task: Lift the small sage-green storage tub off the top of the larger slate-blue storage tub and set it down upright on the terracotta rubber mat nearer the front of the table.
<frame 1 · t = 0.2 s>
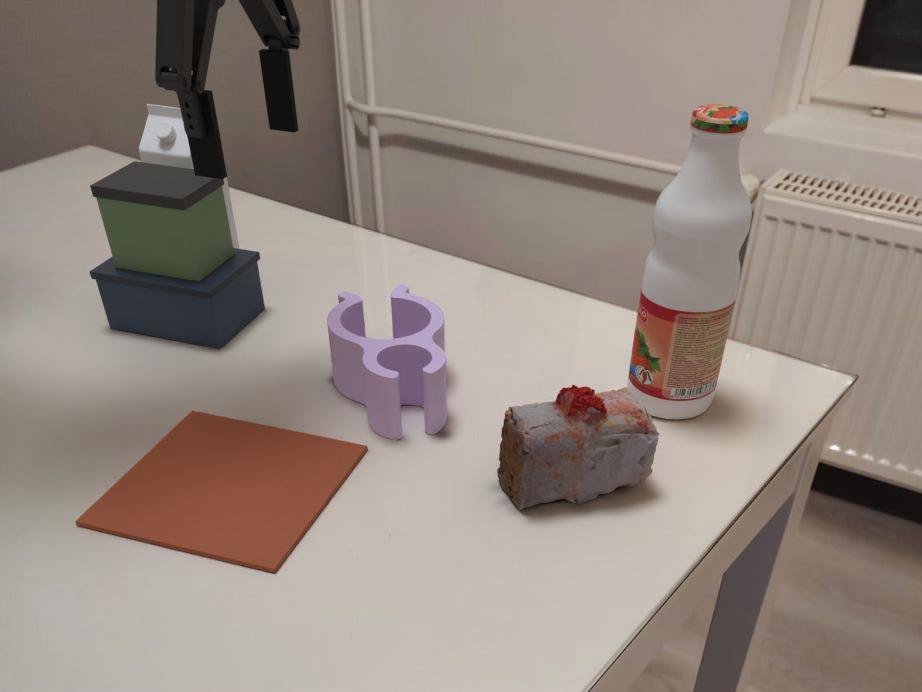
hand: (249, 152, 82), 24 cm above the table, tool pointing down, fingers open, 13 cm apart
milk carton: (205, 267, 121), on the table
fruit juice: (668, 400, 98), on the table
clip: (394, 390, 99), on the table
food item: (572, 486, 87), on the table
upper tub: (176, 261, 105), point 7 cm above the table, touching lower tub
mat: (230, 485, 86), on the table
lower tub: (189, 318, 110), on the table, touching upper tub
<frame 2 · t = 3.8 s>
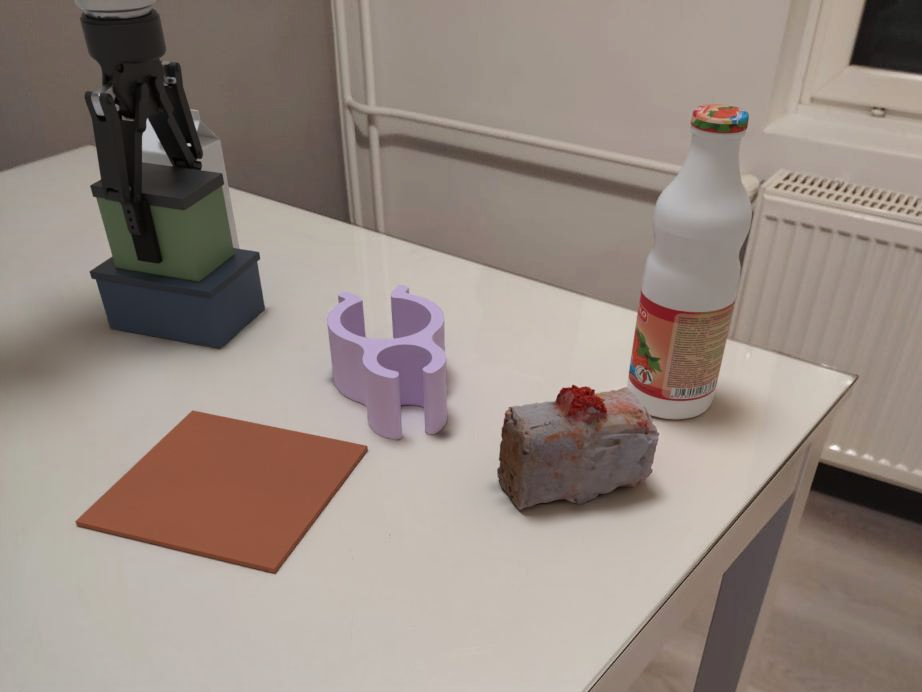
hand: (172, 245, 103), 9 cm above the table, tool pointing down, fingers closed on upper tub, 8 cm apart
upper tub: (175, 261, 105), point 7 cm above the table, touching gripper, lower tub
everything else where it was.
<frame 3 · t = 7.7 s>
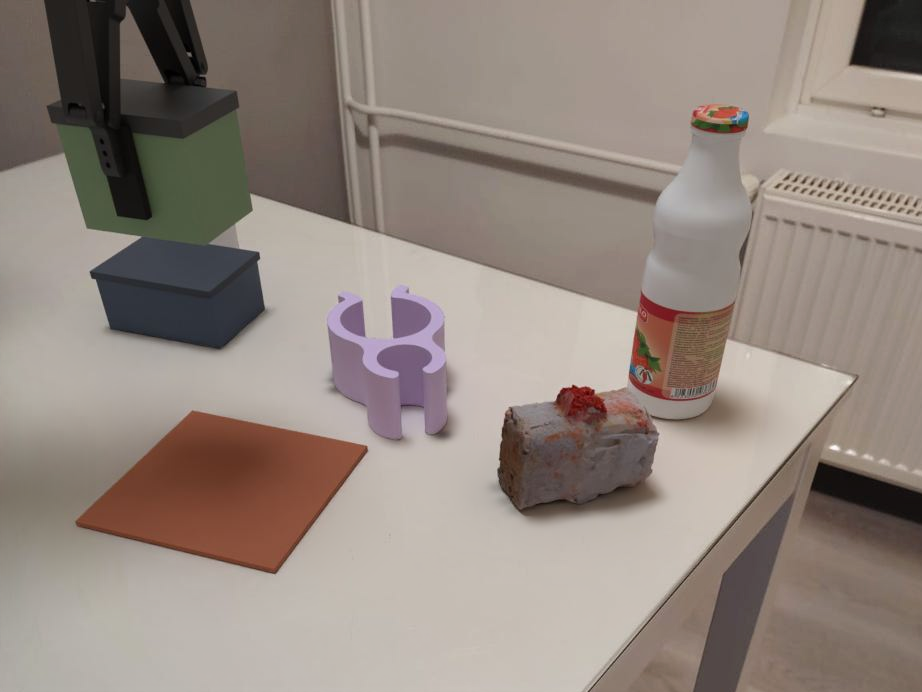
hand: (165, 196, 74), 24 cm above the table, tool pointing down, fingers closed on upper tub, 8 cm apart
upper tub: (171, 219, 75), point 22 cm above the table, touching gripper
lower tub: (189, 318, 110), on the table
everything else where it was.
when the fingers open (2 cm above the table, at t = 12.0 s): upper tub stays where it is, resting on mat.
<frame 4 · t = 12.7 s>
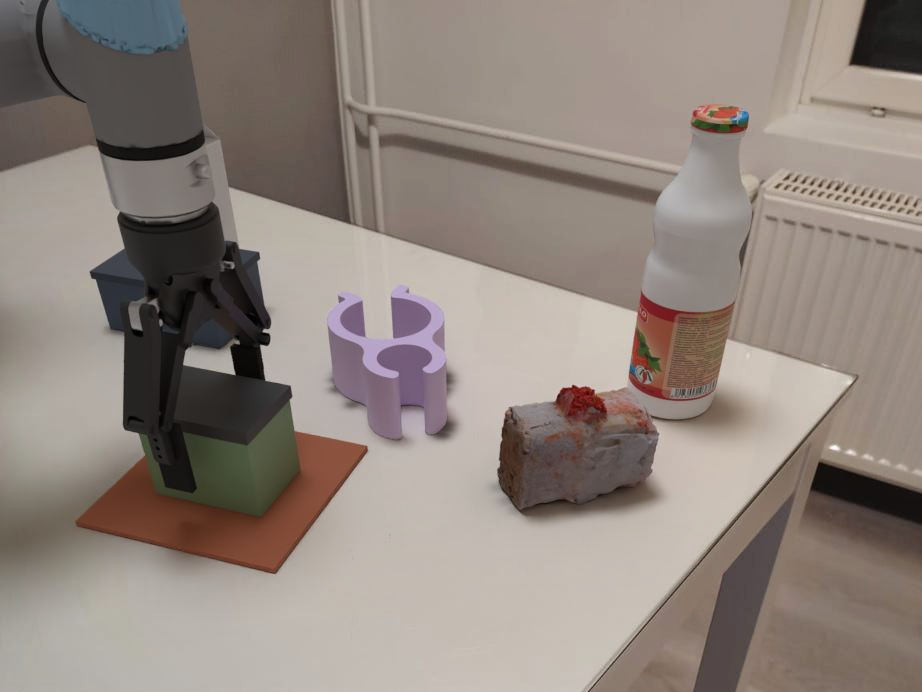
hand: (221, 447, 83), 4 cm above the table, tool pointing down, fingers open, 13 cm apart
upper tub: (229, 481, 85), resting on mat
everything else where it was.
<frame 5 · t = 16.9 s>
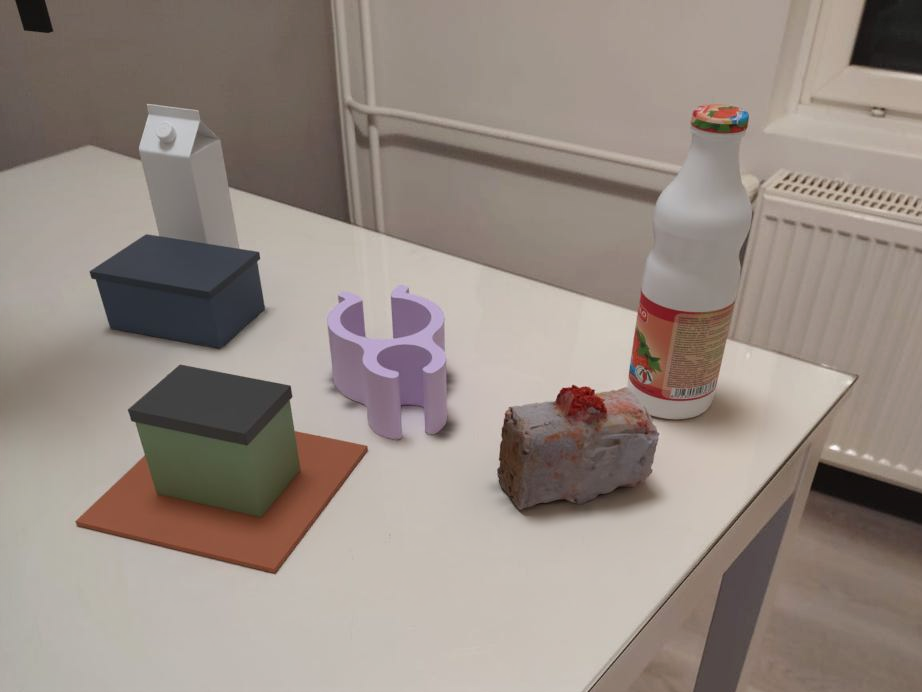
nothing on the table moved.
at the end: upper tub inside the target area on the mat (0.1 cm from its centre), point 0.5 cm above the mat's base; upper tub tilted 0°; lower tub moved 0.0 cm from its start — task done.
